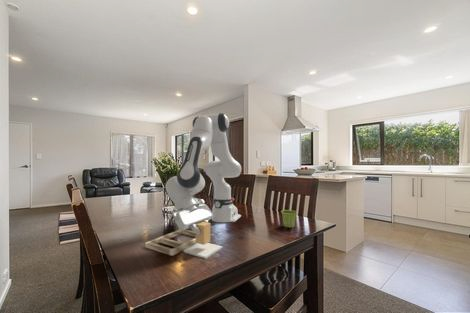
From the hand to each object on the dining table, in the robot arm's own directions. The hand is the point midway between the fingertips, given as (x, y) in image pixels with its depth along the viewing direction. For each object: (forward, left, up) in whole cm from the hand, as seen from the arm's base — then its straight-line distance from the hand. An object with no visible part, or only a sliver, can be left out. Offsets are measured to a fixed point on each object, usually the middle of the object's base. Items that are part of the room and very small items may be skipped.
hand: (204, 231), depth 93 cm
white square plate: (0, -1, -8) cm, 8 cm away
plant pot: (-53, +22, -8) cm, 58 cm away
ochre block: (0, -1, -5) cm, 5 cm away
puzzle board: (-1, -17, -8) cm, 19 cm away
